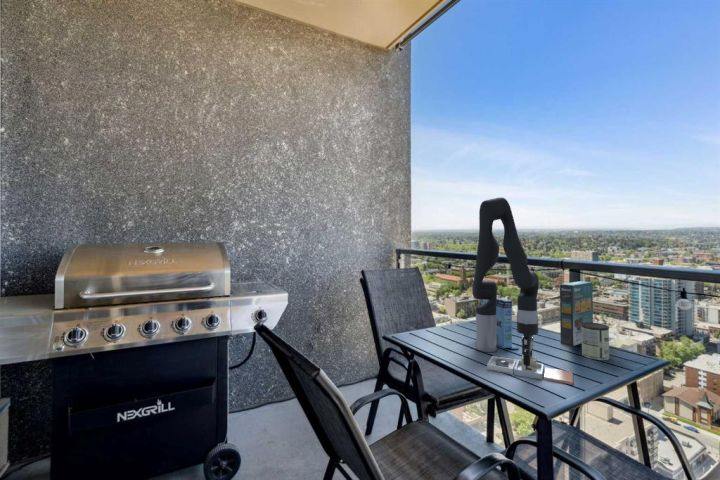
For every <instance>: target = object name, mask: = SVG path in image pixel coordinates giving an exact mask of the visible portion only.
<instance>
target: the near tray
mask: <svg viewBox="0 0 720 480" xmlns="http://www.w3.org/2000/svg"><path fill="white" fill-rule="evenodd" d="M496 359H504V360H507V361H509V367H502V366H496ZM517 360H518V359H517V358H516V359H515V358H508V357H501V356H497V355H492V356H491V358H489V360H488V362H487V364H486V371H491V372H496V373H502V374H508V375H514V368H515V365H516V363H517Z"/></svg>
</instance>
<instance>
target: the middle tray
mask: <svg viewBox="0 0 720 480" xmlns="http://www.w3.org/2000/svg"><path fill="white" fill-rule="evenodd" d="M516 360H517V363H516V365H515V368H514V373H513V375H514V376H520V377H525V378H530V379H535V380H541V381H542V380H543V378H544V371H545V367H544V363H542V362H541V363H539V362H537V371H536V372H531V371H525V370H522V366H521V359H516Z"/></svg>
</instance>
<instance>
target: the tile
mask: <svg viewBox="0 0 720 480" xmlns="http://www.w3.org/2000/svg"><path fill="white" fill-rule="evenodd" d="M573 376H574V375H573V372H572V371H568V370H563V369H556V368H549V367H544V372H543V380H544V381H549V382H555V383H560V384H567V385H571V386H573V385H574V378H573Z"/></svg>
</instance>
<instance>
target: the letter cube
mask: <svg viewBox="0 0 720 480" xmlns="http://www.w3.org/2000/svg"><path fill="white" fill-rule="evenodd" d="M520 360H521V366H522V370H525V371H531V372H536V371H537V363H538V362H537V357H536V356H533V355H532V356H530V366H526V365H524V364H523V355H522V356H521V358H520Z"/></svg>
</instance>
